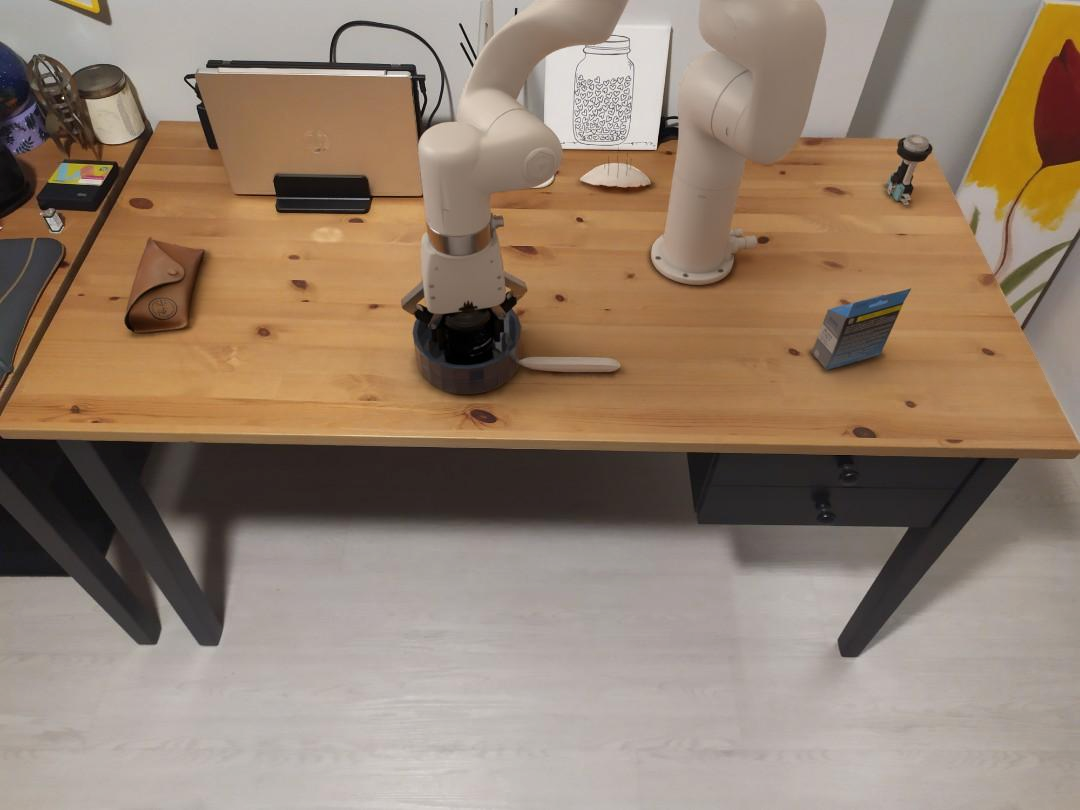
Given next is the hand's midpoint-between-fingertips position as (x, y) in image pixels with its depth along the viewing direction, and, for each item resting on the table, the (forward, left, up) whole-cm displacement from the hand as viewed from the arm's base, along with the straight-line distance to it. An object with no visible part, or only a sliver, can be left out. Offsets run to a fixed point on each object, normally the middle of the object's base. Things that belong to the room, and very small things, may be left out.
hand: (468, 338), depth 108 cm
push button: (-77, -23, -4) cm, 80 cm away
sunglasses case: (+41, -23, -4) cm, 47 cm away
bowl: (0, 0, -4) cm, 4 cm away
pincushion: (-31, -36, -4) cm, 48 cm away
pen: (-14, -4, 0) cm, 14 cm away
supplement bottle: (0, 0, -3) cm, 3 cm away
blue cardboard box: (-51, +10, -4) cm, 52 cm away
